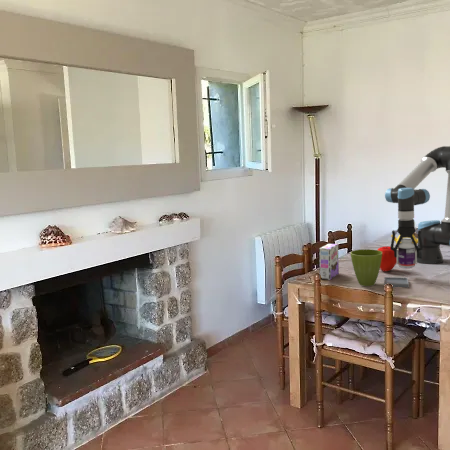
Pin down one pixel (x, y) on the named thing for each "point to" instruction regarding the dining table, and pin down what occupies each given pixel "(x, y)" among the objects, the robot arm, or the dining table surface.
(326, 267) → the candy box
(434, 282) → the dining table surface
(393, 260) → the apple
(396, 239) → the teapot
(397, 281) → the socket plate
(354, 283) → the dining table surface
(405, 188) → the robot arm
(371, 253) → the flower pot
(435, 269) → the dining table surface
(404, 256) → the pill bottle
